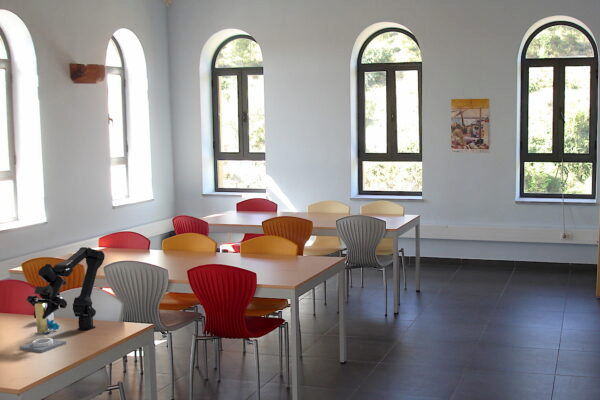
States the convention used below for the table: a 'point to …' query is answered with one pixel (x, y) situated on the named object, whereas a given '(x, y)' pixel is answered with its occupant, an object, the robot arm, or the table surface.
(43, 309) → the brass shaft
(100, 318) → the table surface
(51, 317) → the medicine box
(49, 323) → the gear
